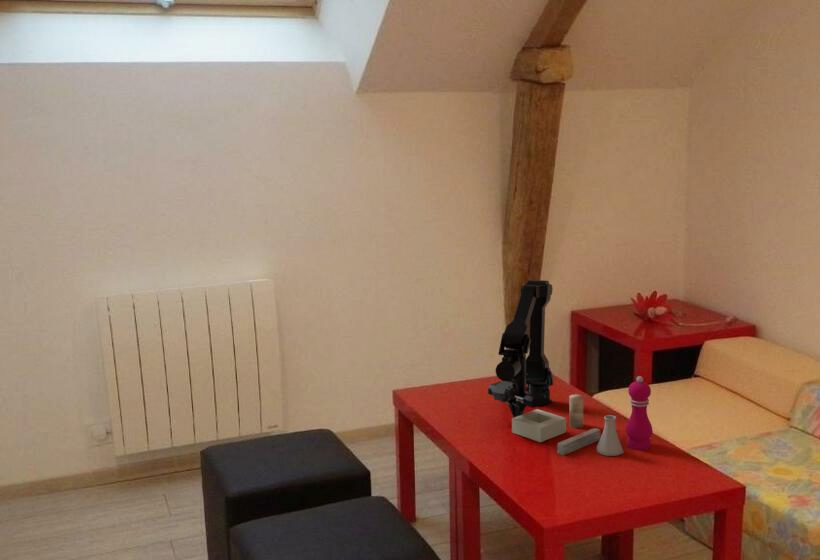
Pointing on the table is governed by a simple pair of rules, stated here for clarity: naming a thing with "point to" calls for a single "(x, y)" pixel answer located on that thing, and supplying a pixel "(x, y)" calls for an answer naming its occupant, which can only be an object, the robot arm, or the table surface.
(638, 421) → the pepper mill
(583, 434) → the bar
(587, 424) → the table surface
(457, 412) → the table surface
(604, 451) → the flask
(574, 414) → the dowel
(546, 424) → the block
